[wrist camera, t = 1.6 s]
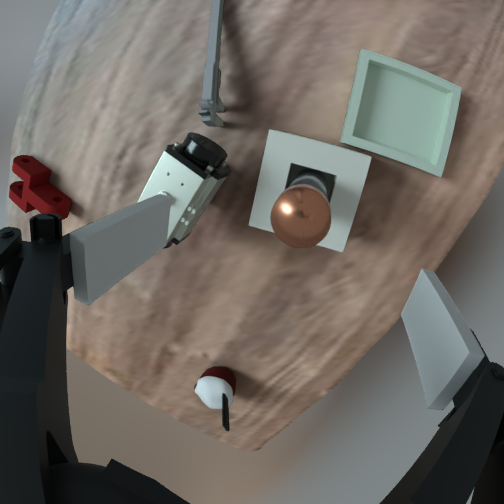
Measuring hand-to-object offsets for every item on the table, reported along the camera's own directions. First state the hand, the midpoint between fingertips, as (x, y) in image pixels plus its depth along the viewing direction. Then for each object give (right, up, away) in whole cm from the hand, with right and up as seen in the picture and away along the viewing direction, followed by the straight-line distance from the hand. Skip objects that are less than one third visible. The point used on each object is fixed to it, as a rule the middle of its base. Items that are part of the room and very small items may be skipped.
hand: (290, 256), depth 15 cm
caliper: (-6, +25, +16) cm, 30 cm away
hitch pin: (+5, +8, +19) cm, 21 cm away
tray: (+15, +16, +14) cm, 26 cm away
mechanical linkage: (-38, +12, +29) cm, 49 cm away
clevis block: (+5, +8, +20) cm, 22 cm away
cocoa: (-7, -21, +34) cm, 41 cm away
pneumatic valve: (-7, +9, +23) cm, 25 cm away
